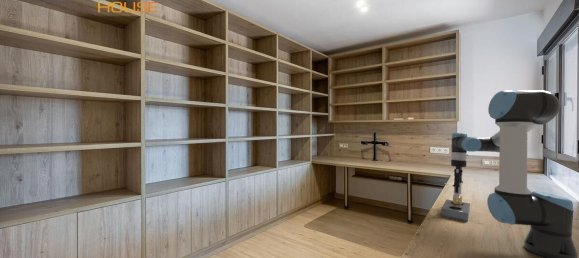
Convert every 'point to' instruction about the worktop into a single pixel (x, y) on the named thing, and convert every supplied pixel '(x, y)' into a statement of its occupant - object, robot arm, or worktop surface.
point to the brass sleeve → (457, 201)
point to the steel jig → (455, 210)
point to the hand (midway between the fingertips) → (457, 196)
